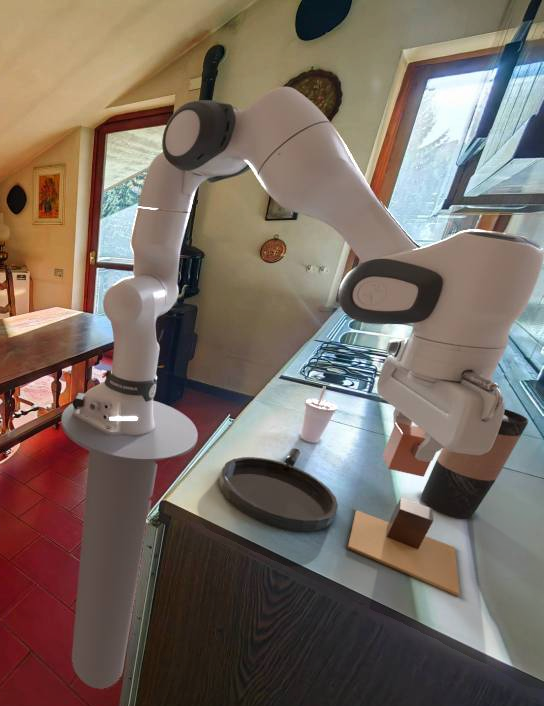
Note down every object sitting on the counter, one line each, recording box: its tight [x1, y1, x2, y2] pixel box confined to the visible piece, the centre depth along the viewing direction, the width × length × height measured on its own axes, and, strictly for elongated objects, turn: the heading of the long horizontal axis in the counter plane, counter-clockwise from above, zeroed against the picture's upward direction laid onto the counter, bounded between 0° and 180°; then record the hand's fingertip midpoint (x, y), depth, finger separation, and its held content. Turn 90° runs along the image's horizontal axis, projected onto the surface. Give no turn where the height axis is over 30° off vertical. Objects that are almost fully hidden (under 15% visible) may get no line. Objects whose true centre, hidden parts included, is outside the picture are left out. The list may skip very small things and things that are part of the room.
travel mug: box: [420, 408, 529, 519], centre depth 71 cm, size 8×8×20 cm
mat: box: [347, 509, 460, 597], centre depth 64 cm, size 13×12×1 cm
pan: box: [218, 456, 339, 533], centre depth 76 cm, size 19×19×2 cm
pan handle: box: [283, 447, 301, 471], centre depth 85 cm, size 2×10×2 cm, turn 137°
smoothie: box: [300, 386, 338, 444], centre depth 94 cm, size 6×6×14 cm
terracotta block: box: [381, 423, 432, 477], centre depth 57 cm, size 4×4×6 cm
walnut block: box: [386, 497, 434, 549], centre depth 65 cm, size 4×4×6 cm
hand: (409, 448), depth 57 cm, fingers closed on terracotta block, 4 cm apart
